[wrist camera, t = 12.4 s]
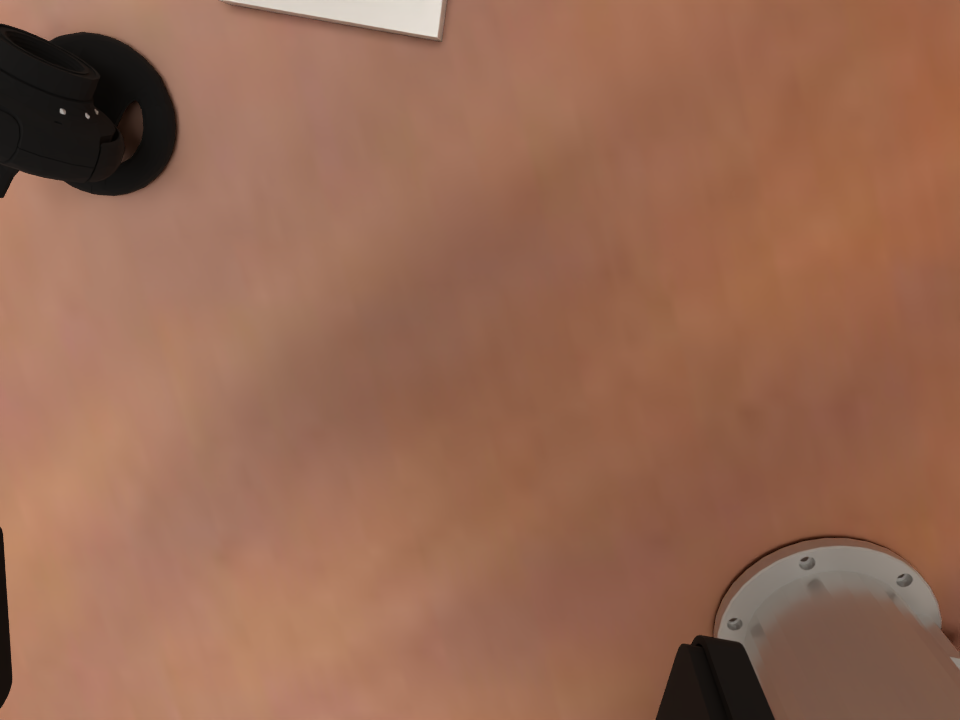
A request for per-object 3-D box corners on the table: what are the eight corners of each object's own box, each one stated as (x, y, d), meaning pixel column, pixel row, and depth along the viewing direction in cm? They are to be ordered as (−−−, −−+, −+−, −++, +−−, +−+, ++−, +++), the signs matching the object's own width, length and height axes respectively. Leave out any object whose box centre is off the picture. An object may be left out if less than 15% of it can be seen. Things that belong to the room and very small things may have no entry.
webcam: (206, 91, 35) (88, 81, 25) (148, 223, 37) (19, 259, 27) (57, -1, 34) (-124, -47, 24) (7, 141, 36) (-177, 149, 26)
